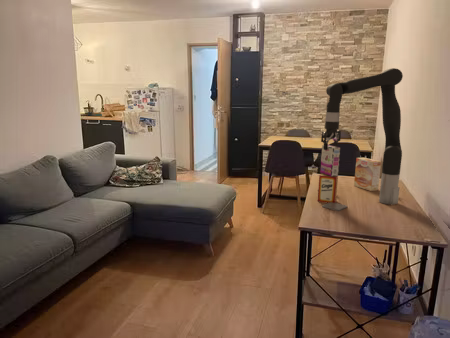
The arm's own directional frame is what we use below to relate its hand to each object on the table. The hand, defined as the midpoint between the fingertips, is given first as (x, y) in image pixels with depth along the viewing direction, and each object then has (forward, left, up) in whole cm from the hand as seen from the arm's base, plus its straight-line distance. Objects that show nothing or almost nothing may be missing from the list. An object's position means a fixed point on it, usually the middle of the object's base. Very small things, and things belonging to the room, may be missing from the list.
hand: (330, 149), depth 200 cm
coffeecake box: (+4, -46, -31) cm, 56 cm away
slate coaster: (-10, +6, -31) cm, 33 cm away
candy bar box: (0, 0, -15) cm, 15 cm away
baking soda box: (0, 0, -31) cm, 31 cm away
